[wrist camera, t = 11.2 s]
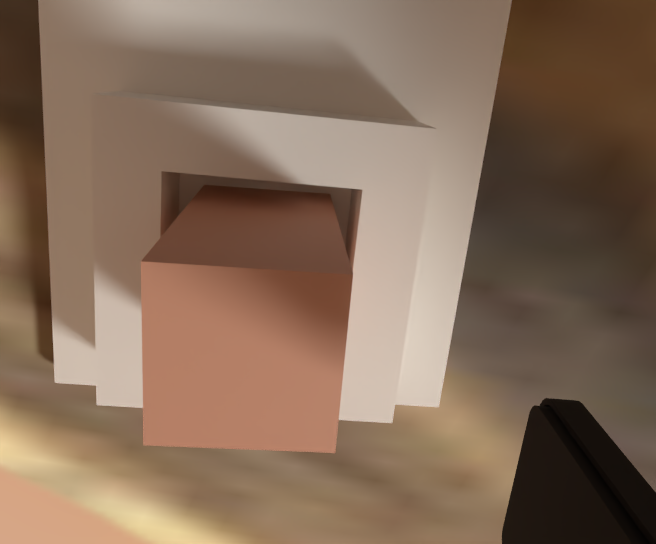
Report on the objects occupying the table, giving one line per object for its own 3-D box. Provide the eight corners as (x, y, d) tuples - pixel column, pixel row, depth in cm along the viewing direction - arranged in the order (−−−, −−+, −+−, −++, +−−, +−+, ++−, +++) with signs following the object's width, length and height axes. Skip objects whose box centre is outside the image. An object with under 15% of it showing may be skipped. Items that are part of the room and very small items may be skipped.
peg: (330, 193, 21) (353, 274, 13) (320, 309, 23) (335, 453, 14) (204, 184, 21) (141, 261, 12) (201, 302, 22) (143, 445, 14)
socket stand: (531, -165, 19) (590, -225, 15) (433, 394, 25) (457, 451, 21) (41, -235, 18) (-28, -320, 14) (64, 370, 24) (20, 426, 20)
